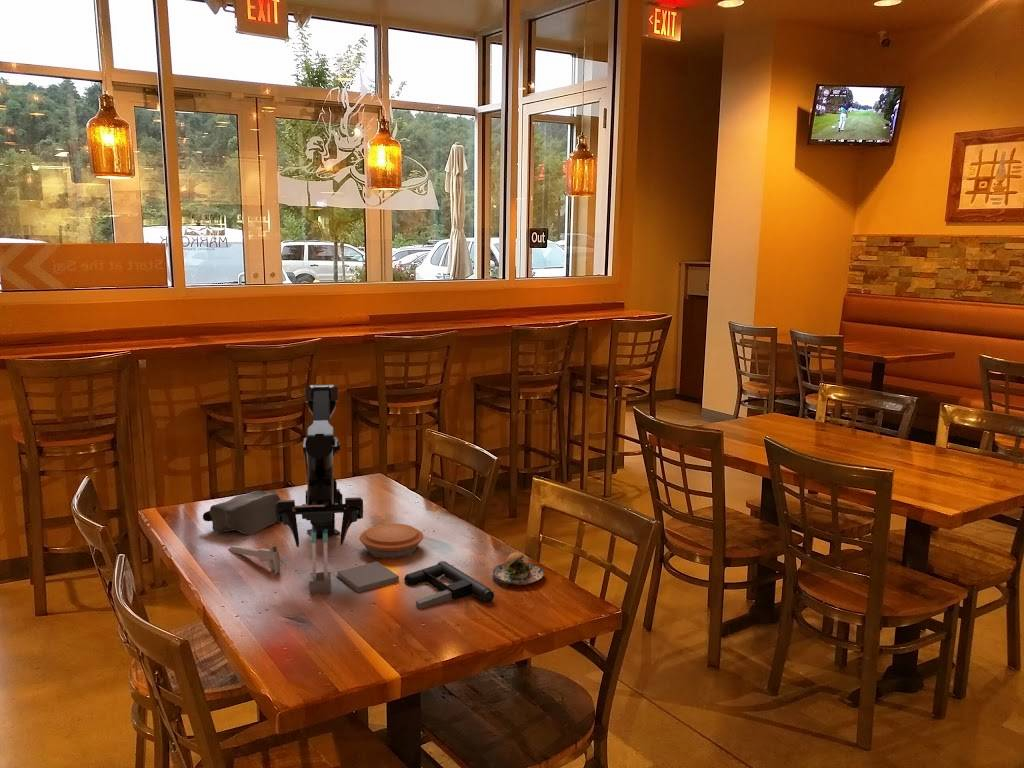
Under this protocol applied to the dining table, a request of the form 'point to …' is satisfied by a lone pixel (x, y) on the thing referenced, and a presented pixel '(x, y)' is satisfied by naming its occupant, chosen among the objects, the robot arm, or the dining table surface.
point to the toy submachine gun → (454, 591)
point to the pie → (391, 540)
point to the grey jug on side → (244, 512)
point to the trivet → (367, 576)
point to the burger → (516, 571)
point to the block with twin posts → (321, 580)
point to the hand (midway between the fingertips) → (319, 545)
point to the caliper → (261, 555)
